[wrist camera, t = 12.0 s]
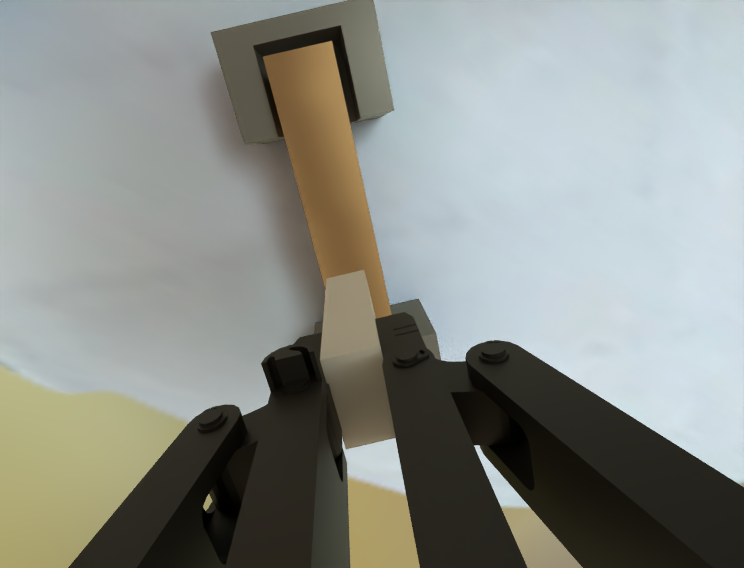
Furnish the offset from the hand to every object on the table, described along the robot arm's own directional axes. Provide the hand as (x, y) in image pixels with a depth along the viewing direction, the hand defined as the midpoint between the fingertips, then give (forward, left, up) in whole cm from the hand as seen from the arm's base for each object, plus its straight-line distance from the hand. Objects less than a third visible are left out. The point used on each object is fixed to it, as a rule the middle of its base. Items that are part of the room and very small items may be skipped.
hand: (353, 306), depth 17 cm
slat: (0, 0, -14) cm, 14 cm away
